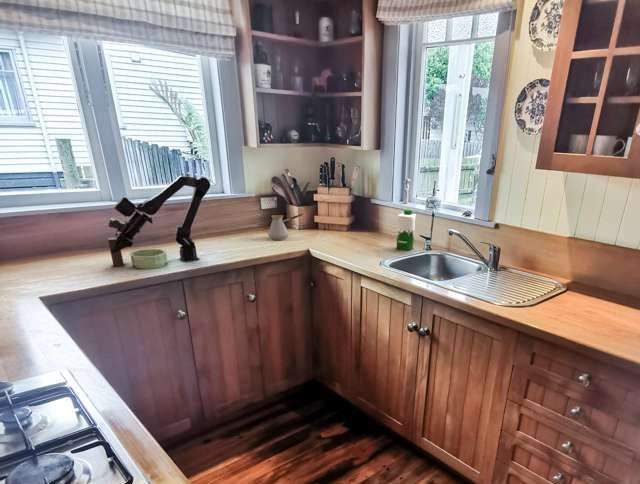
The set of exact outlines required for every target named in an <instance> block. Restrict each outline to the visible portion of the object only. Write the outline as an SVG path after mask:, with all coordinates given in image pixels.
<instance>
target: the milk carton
mask: <svg viewBox="0 0 640 484" xmlns="http://www.w3.org/2000/svg"><path fill="white" fill-rule="evenodd" d="M416 216H417V214H416V213H415V214H414V213H413V210H412V209H404V210H403V212H402V213H399V214H397V227H396V228H397V229H396V250H401V251H408V252H409V251H410V250H411V249H413V247H414V242H415V229H416Z"/></svg>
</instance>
